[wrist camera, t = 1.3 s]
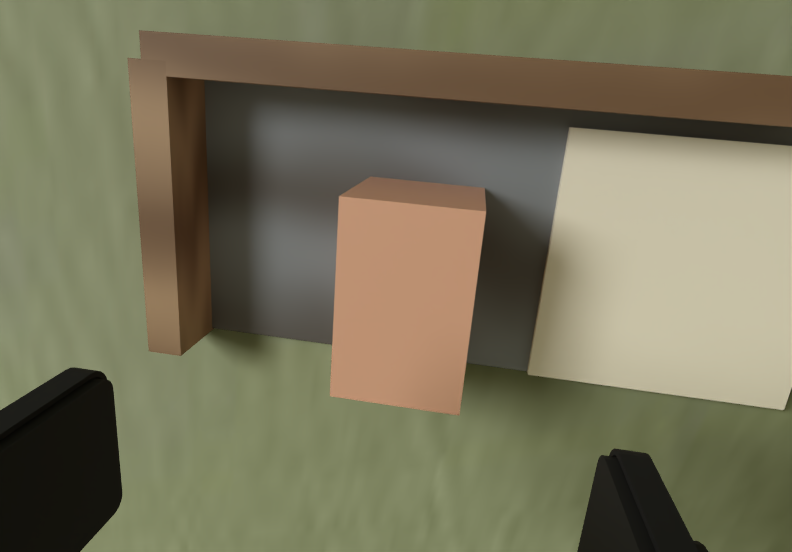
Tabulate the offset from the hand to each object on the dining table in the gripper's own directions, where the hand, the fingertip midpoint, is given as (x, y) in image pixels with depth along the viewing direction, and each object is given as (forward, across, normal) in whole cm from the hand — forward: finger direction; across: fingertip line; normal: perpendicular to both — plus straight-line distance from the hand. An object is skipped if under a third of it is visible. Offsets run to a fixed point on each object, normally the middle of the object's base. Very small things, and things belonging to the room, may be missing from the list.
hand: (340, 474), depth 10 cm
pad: (+13, -10, -2) cm, 16 cm away
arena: (+13, -3, -2) cm, 14 cm away
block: (+13, 0, 0) cm, 13 cm away
